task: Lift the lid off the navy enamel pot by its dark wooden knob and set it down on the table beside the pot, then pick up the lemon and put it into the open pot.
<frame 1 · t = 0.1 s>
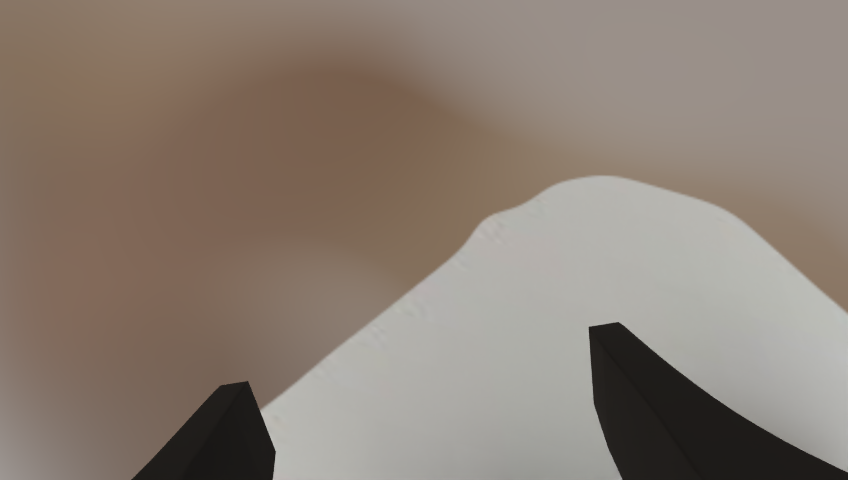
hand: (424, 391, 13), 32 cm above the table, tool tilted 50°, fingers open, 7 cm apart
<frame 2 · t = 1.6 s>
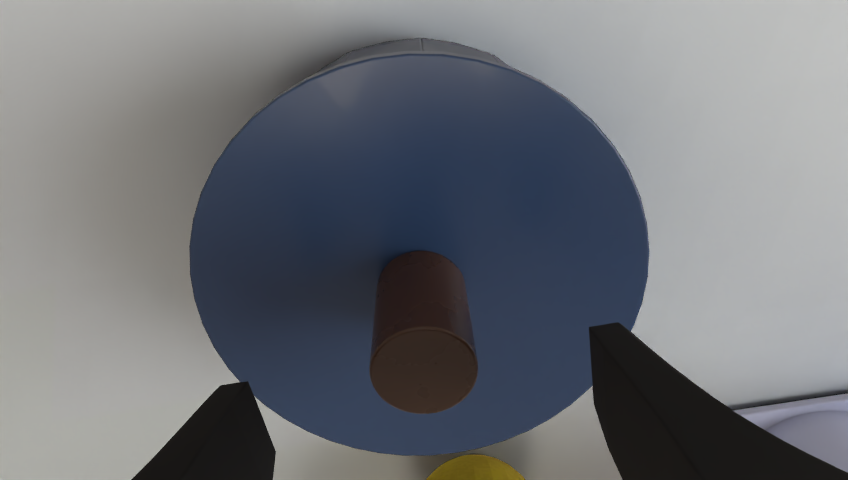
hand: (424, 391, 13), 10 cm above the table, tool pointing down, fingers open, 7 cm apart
pot: (418, 203, 22), on the table
lemon: (469, 458, 28), on the table
pot lid: (420, 279, 17), point 5 cm above the table, touching pot
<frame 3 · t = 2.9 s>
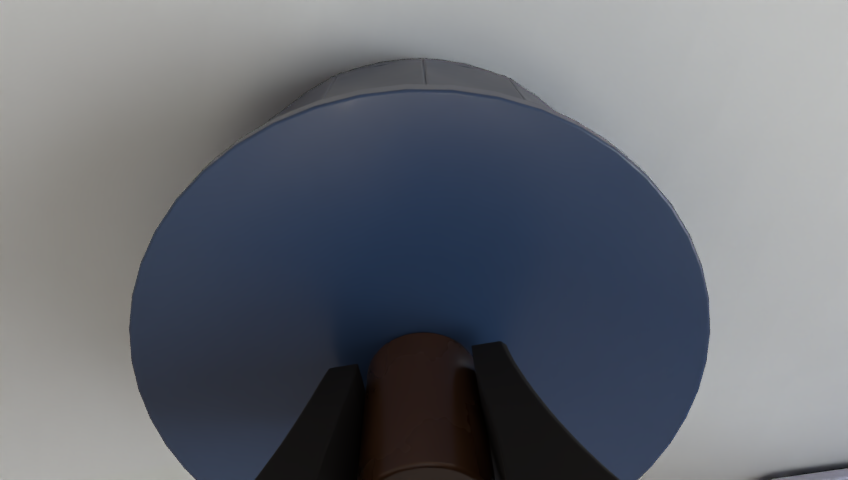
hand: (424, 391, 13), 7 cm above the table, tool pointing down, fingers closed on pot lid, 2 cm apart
pot: (419, 249, 18), on the table
pot lid: (422, 362, 14), point 5 cm above the table, touching gripper, pot
when the fingers open (2 cm above the table, at t = 7.4 s): pot lid stays where it is, point 1 cm above the table.
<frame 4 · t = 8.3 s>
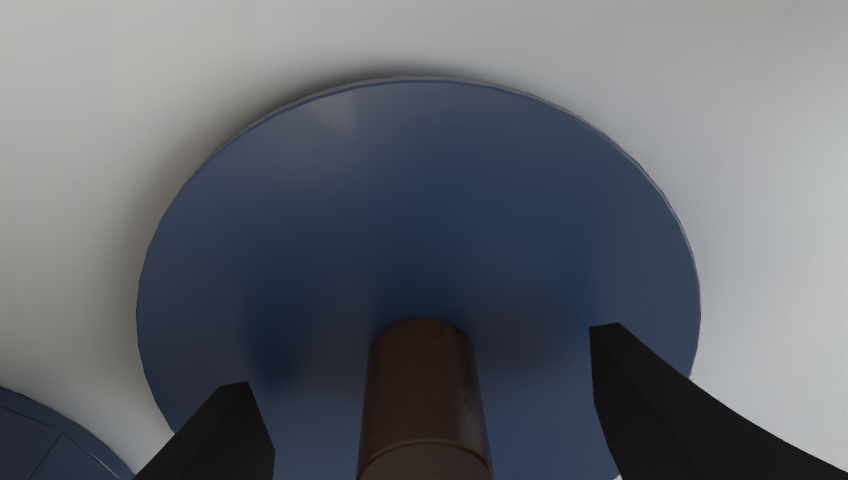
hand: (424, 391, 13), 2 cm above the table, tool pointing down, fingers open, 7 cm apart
pot lid: (420, 347, 14), point 1 cm above the table
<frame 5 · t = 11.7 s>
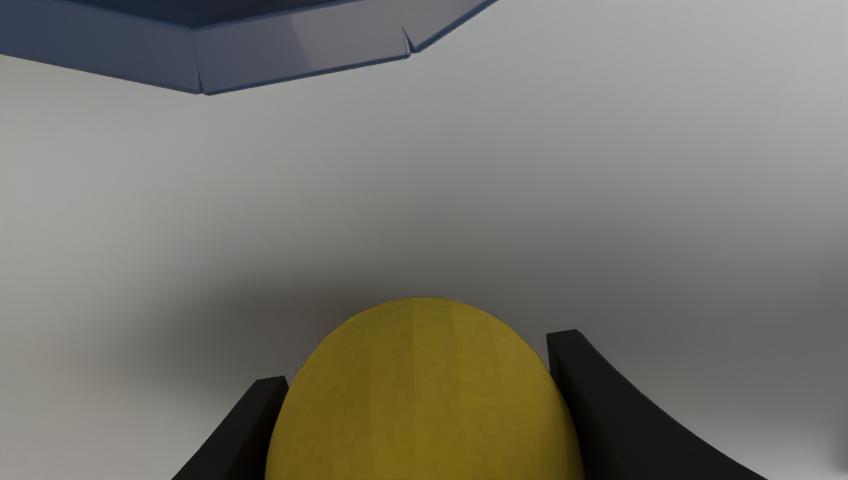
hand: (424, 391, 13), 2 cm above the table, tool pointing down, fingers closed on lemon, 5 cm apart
lemon: (420, 331, 15), on the table, touching gripper
when the fingers open (2 cm above the table, at t = 16.8 s): lemon stays where it is, resting on pot.
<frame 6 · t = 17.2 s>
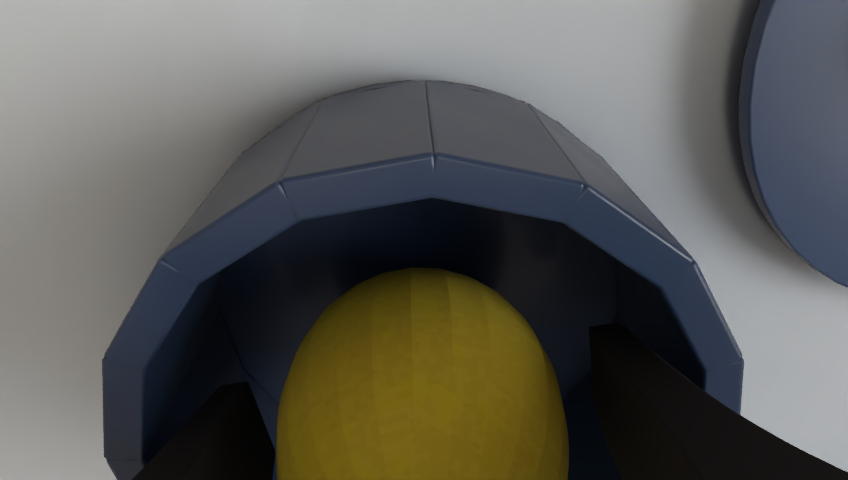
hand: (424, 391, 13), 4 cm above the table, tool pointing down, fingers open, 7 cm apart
pot: (420, 298, 16), on the table
lemon: (418, 304, 16), resting on pot
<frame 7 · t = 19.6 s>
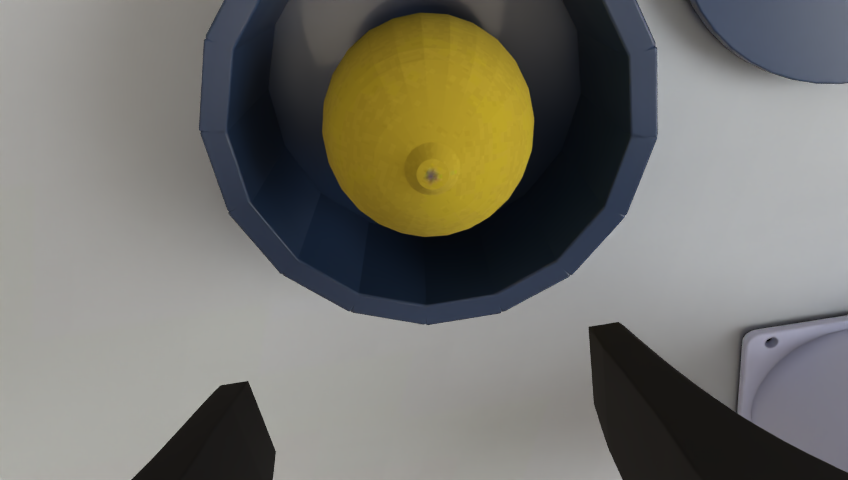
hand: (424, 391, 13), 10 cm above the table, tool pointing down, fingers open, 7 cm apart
pot: (425, 87, 20), on the table
lemon: (423, 89, 20), resting on pot
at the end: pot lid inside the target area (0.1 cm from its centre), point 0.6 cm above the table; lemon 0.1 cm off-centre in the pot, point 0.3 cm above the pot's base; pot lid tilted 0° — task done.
